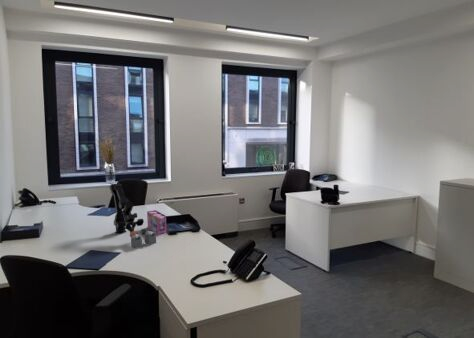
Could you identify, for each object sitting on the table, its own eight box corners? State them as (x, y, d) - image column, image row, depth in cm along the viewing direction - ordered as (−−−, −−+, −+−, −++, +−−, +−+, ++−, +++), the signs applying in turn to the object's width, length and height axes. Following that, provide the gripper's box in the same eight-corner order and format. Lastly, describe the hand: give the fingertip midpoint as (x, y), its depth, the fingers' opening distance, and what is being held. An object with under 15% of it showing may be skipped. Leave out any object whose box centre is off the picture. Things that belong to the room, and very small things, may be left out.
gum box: (167, 233, 285) (167, 216, 283) (157, 234, 280) (157, 217, 279) (156, 225, 304) (155, 210, 303) (147, 227, 300) (146, 211, 298)
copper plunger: (129, 238, 258) (129, 231, 257) (136, 236, 261) (136, 230, 260) (133, 241, 250) (133, 234, 250) (141, 240, 253) (140, 233, 253)
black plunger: (141, 235, 263) (141, 229, 263) (147, 234, 267) (147, 227, 266) (149, 238, 258) (148, 231, 257) (154, 236, 261) (154, 229, 261)
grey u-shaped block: (144, 243, 261) (144, 233, 260) (151, 241, 265) (151, 231, 264) (149, 244, 257) (148, 234, 256) (156, 242, 262) (155, 232, 261)
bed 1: (131, 246, 255) (130, 235, 254) (139, 244, 258) (139, 234, 257) (133, 248, 250) (133, 237, 249) (142, 246, 254) (141, 236, 253)
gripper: (116, 211, 256) (121, 230, 249) (142, 207, 267) (148, 226, 259) (114, 219, 264) (119, 238, 256) (139, 216, 274) (144, 233, 266)
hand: (133, 234), depth 259 cm, fingers closed, pressing on copper plunger
